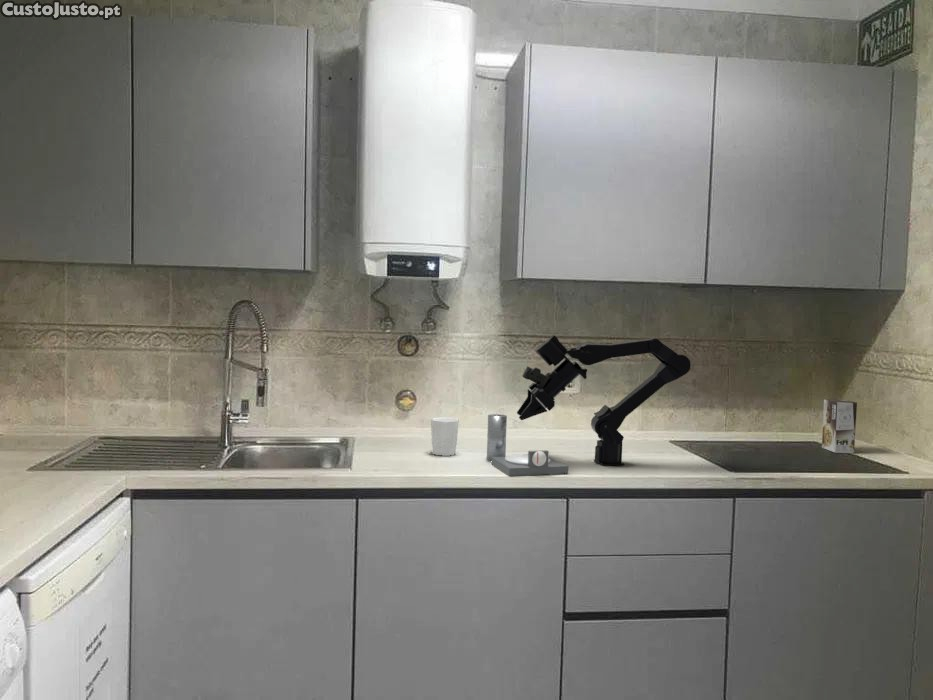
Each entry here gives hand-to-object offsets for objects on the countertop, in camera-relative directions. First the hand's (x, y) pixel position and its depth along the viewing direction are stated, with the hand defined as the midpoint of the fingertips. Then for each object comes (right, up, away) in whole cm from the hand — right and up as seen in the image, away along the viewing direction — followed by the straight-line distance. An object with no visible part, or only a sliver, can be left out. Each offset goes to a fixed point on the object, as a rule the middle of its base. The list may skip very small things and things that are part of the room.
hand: (518, 416), depth 202 cm
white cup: (-21, -12, +8) cm, 25 cm away
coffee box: (+104, -14, +31) cm, 109 cm away
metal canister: (-6, -12, +1) cm, 14 cm away
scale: (+2, -13, -9) cm, 16 cm away
